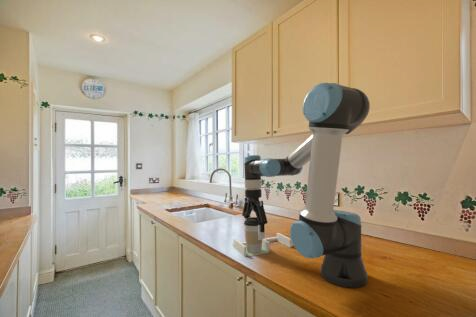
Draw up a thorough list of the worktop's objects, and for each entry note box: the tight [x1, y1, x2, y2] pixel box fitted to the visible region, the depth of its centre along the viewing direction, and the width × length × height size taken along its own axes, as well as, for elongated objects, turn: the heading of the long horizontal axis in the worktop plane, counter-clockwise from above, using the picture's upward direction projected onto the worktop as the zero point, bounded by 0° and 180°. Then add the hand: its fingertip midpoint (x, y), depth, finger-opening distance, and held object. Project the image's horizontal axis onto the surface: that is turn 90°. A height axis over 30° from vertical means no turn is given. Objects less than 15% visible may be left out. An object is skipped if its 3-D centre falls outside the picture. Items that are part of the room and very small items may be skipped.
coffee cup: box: [243, 216, 262, 254], centre depth 109 cm, size 9×9×15 cm
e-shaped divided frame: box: [232, 232, 293, 257], centre depth 115 cm, size 13×25×4 cm, turn 114°
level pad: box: [245, 248, 270, 257], centre depth 110 cm, size 10×10×1 cm
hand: (254, 235), depth 109 cm, fingers open, 13 cm apart
